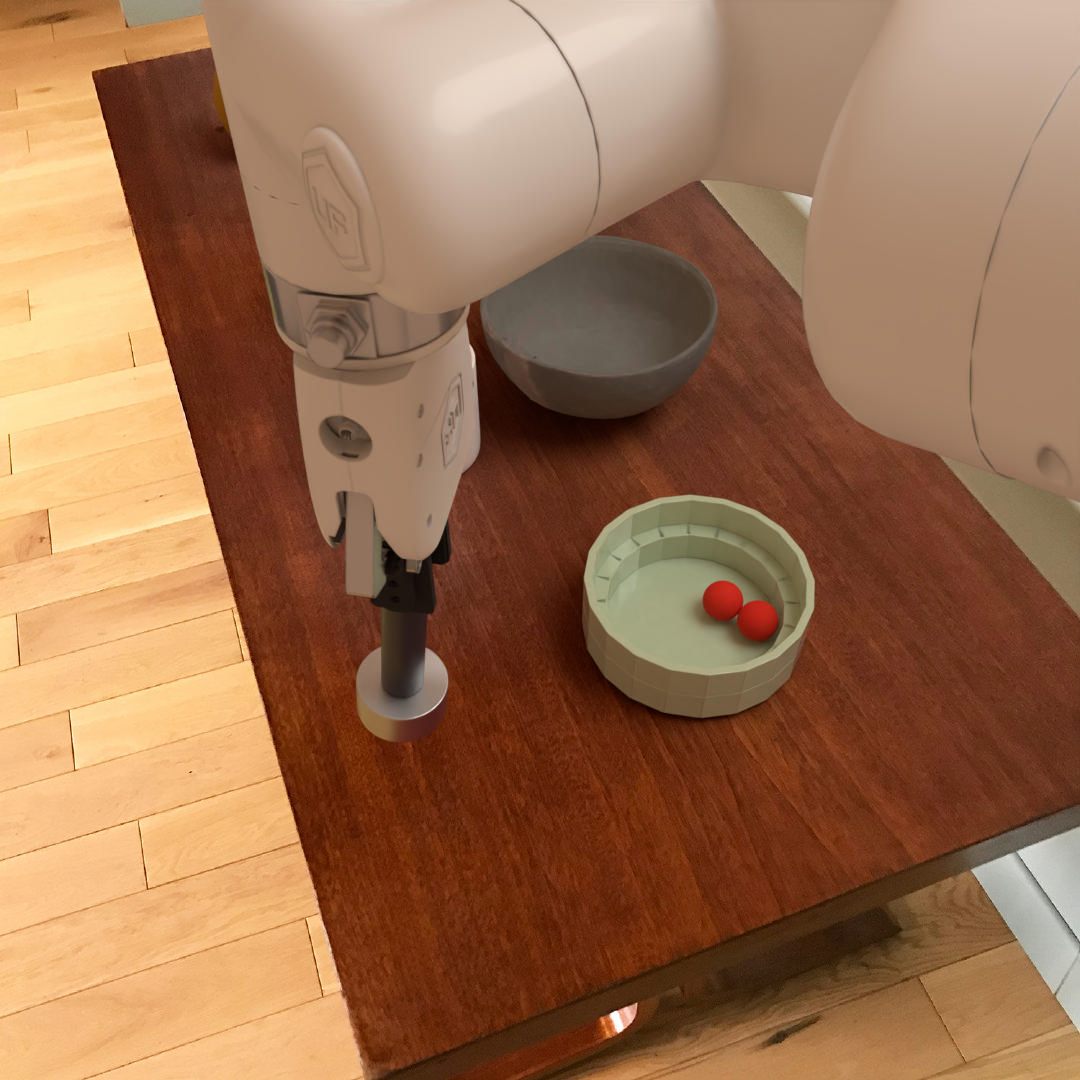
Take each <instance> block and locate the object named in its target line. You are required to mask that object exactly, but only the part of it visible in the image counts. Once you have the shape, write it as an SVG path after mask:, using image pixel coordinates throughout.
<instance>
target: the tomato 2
mask: <svg viewBox="0 0 1080 1080" xmlns="http://www.w3.org/2000/svg"><path fill="white" fill-rule="evenodd" d="M778 624H779V618H778V614H777V612H776V610H775V609H774V607H773V606H772V605H770V604H769V603H767V602H765V601H761V600H755V601H751V602H748V603H746V604H745V605H744V606H743V607H742V608H741V609H740V611H739V613H738V616H737V625H738V628H739V630H740V632H741V633H742V634H743V635H744V636H745V637H746V638H748V639H750V640H752V641H764V640H767V639H769V638H770V637H772V636H773V635H774V633H775V632H776V630H777V628H778Z"/></svg>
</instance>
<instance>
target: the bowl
mask: <svg viewBox="0 0 1080 1080" xmlns="http://www.w3.org/2000/svg"><path fill="white" fill-rule="evenodd" d="M479 314H480V320H481V326H482V327H481V328H482V332H483V336H484V339H485V341H486V344H487V347H488V349H489V351H490V354H491V355H492V358H493V360H494V361H495V362H496V364H497V365H498V366H499V368H500V369H501V370H502V372H503V373H504V374H505V375H506V377H508V379H509V380H510V381H511V382H512V383H513V384H514V385H515V386H516V387H517V388H518V389H519V391H520V392H522V393H523V394H524V395H525V396H526V397H528V398H529V400H531V401H533V402H535V403H537V404H538V405H539V406H542V407H544V408H546V409H548V410H550V411H553V412H556V413H560V414H562V415H563V414H564V415H568V416H572V417H577V418H585V419H595V420H600V419H601V420H609V419H621V418H626V417H631V416H636V415H639V414H641V413H644V412H647V411H649V410H651V409H653V408H655V407H657V406H659V405H661V404H662V403H663V402H665V401H667V400H668V399H669V398H671V397H673V396H674V395H675V394H676V393H677V392H678V391H680V390H681V389H682V387H684V386H685V385H686V384H687V383H688V381H690V379H691V378H692V377H693V375H694V374H695V373H696V372H697V370H698V368H699V367H700V366H701V364H702V363H703V361H704V359H705V358H706V355H707V353H708V352H709V350H710V347H711V344H712V341H713V338H714V336H715V332H716V327H717V325H718V315H719V303H718V299H717V294H716V291H715V290H714V287H713V285H712V283H711V282H710V280H709V278H707V276H706V275H705V273H704V272H702V270H700V269H699V268H698V267H697V266H695V264H693V263H691V262H690V261H689V260H687V259H686V258H684V257H682V256H681V255H678V254H676V253H675V252H673V251H670V250H668V249H665V248H662V247H660V246H657V245H653V244H649V243H647V242H642V241H639V240H635V239H630V238H624V237H620V236H612V235H611V236H610V235H597V234H595V235H593V236H592V237H590V238H588V239H586V240H585V241H583V242H581V243H579V244H578V245H576V246H574V247H572V248H571V249H569V250H567V251H565V252H564V253H562V254H560V255H558V256H557V257H555V258H553V259H551V260H550V261H548V262H546V263H544V264H543V265H541V266H539V267H537V268H536V269H534V270H532V271H530V272H529V273H527V274H525V275H523V276H522V277H520V278H518V279H516V280H515V281H513V282H511V283H509V284H508V285H506V286H504V287H502V288H501V289H499V290H497V291H495V292H493V293H491V294H490V295H488V296H486V297H484V298H482V299H480V303H479Z"/></svg>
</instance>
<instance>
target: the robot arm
mask: <svg viewBox="0 0 1080 1080" xmlns="http://www.w3.org/2000/svg"><path fill="white" fill-rule="evenodd" d="M200 2H201V8H202V13H203V18H204V19H203V20H204V23H205V28H206V32H207V36H208V41H209V45H210V50H211V54H212V58H213V62H214V66H215V71H217V75H218V80H219V84H220V88H221V93H222V97H223V101H224V106H225V110H226V114H227V119H228V123H229V127H230V132H231V136H232V138H231V140H232V144H233V149H234V153H235V157H236V161H237V166H238V170H239V175H240V180H241V183H242V186H243V192H244V196H245V201H246V205H247V209H248V213H249V218H250V222H251V227H252V232H253V235H254V240H255V244H256V249H257V252H258V257H259V260H260V265H261V270H262V273H263V277H264V282H265V286H266V290H267V295H268V299H269V304H270V308H271V314H272V317H273V322H274V326H275V329H276V331H277V334H278V335H279V336H280V338H281V340H282V341H283V343H284V344H285V345H287V346H288V348H289V349H290V350H292V351H293V353H292V364H293V366H292V367H293V374H294V375H293V377H294V388H295V389H294V390H295V399H296V400H295V401H296V408H297V419H298V425H299V433H300V441H301V447H302V454H303V460H304V466H305V471H306V472H305V473H306V478H307V484H308V488H309V489H308V490H309V494H310V498H311V502H312V506H313V510H314V515H315V517H316V520H317V521H316V522H317V524H318V527H319V530H320V533H321V534H322V536H323V538H324V540H325V541H326V543H327V544H328V546H330V547H331V548H332V549H337V548H338V547H339V546H340V545H343V542H344V539H345V593H346V595H348V596H355V597H362V598H368V599H369V602H370V603H371V605H373V606H374V607H377V608H380V609H381V608H385V609H387V610H390V611H394V612H401V613H407V612H416V613H423V614H428V615H431V614H434V612H435V609H436V605H437V596H436V586H435V585H436V584H435V577H434V570H433V569H434V568H433V565H440V566H444V565H445V564H448V563H449V561H450V560H451V556H452V553H453V552H452V541H451V534H450V533H451V531H450V522H449V515H450V512H451V509H452V507H453V506H452V505H453V503H454V500H455V496H456V493H457V490H458V487H459V483H460V482H461V481H460V480H461V477H462V474H463V473H462V471H463V468H464V464H465V461H466V458H467V454H468V451H469V448H470V444H471V440H472V437H473V433H474V428H475V423H476V414H477V407H476V395H475V386H474V377H473V369H472V360H471V352H470V345H471V344H470V336H469V329H468V321H467V320H468V317H469V314H470V309H471V304H473V303H476V302H478V301H481V299H482V298H484V297H486V296H488V295H490V294H491V293H493V292H495V291H497V290H499V289H501V288H502V287H504V286H506V285H508V284H509V283H511V282H513V281H515V280H516V279H518V278H520V277H522V276H523V275H525V274H527V273H529V272H530V271H532V270H534V269H536V268H537V267H539V266H541V265H543V264H544V263H546V262H548V261H550V260H551V259H553V258H555V257H557V256H558V255H560V254H562V253H564V252H565V251H567V250H569V249H571V248H572V247H574V246H576V245H578V244H579V243H581V242H583V241H585V240H586V239H588V238H590V237H592V236H593V235H597V234H599V233H600V232H602V231H604V230H606V229H607V228H609V227H611V226H613V225H615V224H616V223H618V222H620V221H622V220H623V219H625V218H627V217H629V216H631V215H632V214H635V213H636V212H638V211H639V210H641V209H644V208H645V207H648V206H649V205H651V204H652V203H654V202H656V201H658V200H660V199H662V198H664V197H666V196H668V195H669V194H671V193H673V192H675V191H677V190H679V189H681V188H683V187H684V186H686V185H688V184H691V183H692V182H698V181H699V182H700V181H716V182H717V181H719V182H728V183H736V184H744V185H748V186H754V187H759V188H764V189H769V190H775V191H780V192H785V193H791V194H795V195H799V196H805V197H808V198H811V203H810V208H809V213H808V214H809V215H808V220H807V224H806V230H805V236H804V246H803V255H802V256H803V257H802V267H801V269H802V270H801V304H802V318H803V323H804V329H805V335H806V340H807V343H808V347H809V351H810V354H811V357H812V361H813V364H814V366H815V369H816V371H817V372H818V374H819V377H820V378H821V381H822V383H823V384H824V387H825V388H826V390H827V391H828V393H829V394H830V396H831V397H832V398H833V400H834V401H835V402H836V403H837V404H839V406H840V407H842V409H843V410H845V411H846V413H848V414H849V416H851V417H852V418H853V420H855V421H856V422H857V423H859V424H861V425H863V426H865V427H866V428H868V429H870V430H872V431H874V432H875V433H878V434H880V435H881V436H883V437H885V438H887V439H891V440H894V441H897V442H900V443H902V444H906V445H908V446H912V447H913V448H914V447H915V448H918V449H921V450H923V451H927V452H930V453H934V454H936V455H939V456H942V457H945V458H948V459H951V460H954V461H957V462H959V463H962V464H964V465H968V466H970V467H973V468H975V469H979V470H982V471H985V472H988V473H990V474H994V475H996V476H999V477H1001V478H1005V479H1007V480H1013V481H1019V482H1021V483H1024V484H1027V485H1031V486H1032V487H1034V488H1035V487H1036V488H1038V489H1041V490H1043V491H1047V492H1050V493H1052V494H1055V495H1058V496H1060V497H1063V498H1066V499H1069V500H1071V501H1074V502H1078V503H1080V0H200ZM231 136H230V137H231ZM382 536H383V537H384V539H385V540H386V541H382ZM430 554H431V555H430Z"/></svg>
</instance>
